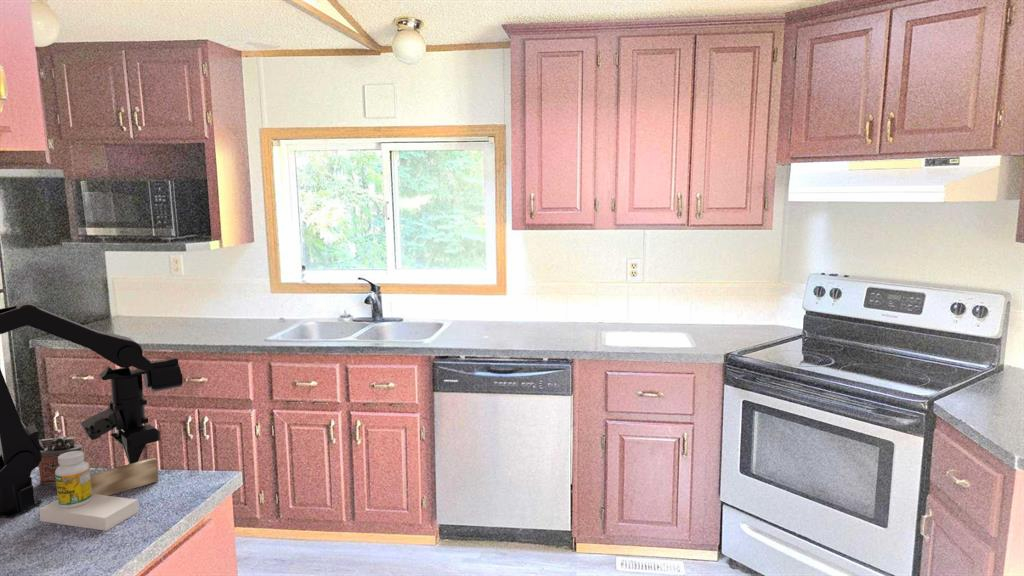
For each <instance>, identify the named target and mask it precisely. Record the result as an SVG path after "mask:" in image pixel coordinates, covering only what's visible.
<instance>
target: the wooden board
mask: <svg viewBox="0 0 1024 576" xmlns="http://www.w3.org/2000/svg"><path fill="white" fill-rule="evenodd" d="M158 471H159V470H158V459H157V458H156V457H152V458H148V459H144V460H140V461H138V462H136V463H132V464H129V463H128V464H125V465H124V464H123V465H121V466H117V467H114V468H110V469H105V470H102V471H99V472H98V471H97V472H94V473H90V477H91V487H92V494H98V495H106V496H112V495H115V494H119V493H122V492H125V491H128V490H133V489H136V488H139V487H143V486H146V485H150V484H154V483H156V482H159V472H158Z"/></svg>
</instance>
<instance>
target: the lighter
mask: <svg viewBox="0 0 1024 576" xmlns="http://www.w3.org/2000/svg"><path fill="white" fill-rule="evenodd" d="M40 440H41V442H42V445H43V447H44V449H45V450H44V451H41V455H42V460H41V462H40V463H39V465H38V469H39V470H38V471H39V487H41V488H42V487H47V488H48V487H57V486H56V477H55V471H56V469H57V468H58V467H59V466H60V465H59V463H58V456H59V455H61V454H64V453H67V452H71V451H82V450H83V445H82V444H75V441H76V438H75V436H69V437H66V436H64V435H59V436H58V437H57V438H53V437H51V438H43V439H40ZM45 447H46V448H45Z"/></svg>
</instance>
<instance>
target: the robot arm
mask: <svg viewBox="0 0 1024 576" xmlns="http://www.w3.org/2000/svg"><path fill="white" fill-rule="evenodd" d="M26 326H27V327H28V326H29V327H31V328H34V329H37V330H40V331H43V332H45V333H48V334H50V335H53V336H55V337H58V338H61V339H63V340H65V341H69V342H71V343H74V344H77V345H79V346H81V347H84V348H87V349H89V350H90V351H93V352H94V353H96V354H97V355H99V356H101V357H102V358H104V359H105V360H107V361H109V362H111V363H113V364H114V365H116V366H117V367H120V368H114V369H113V368H111V367H110V366H106V367H105V368H104V370H103V371H101V372H100V373H99V374H98V377H99V378H100V380H102V381H108V380H109V381H110V388H111V400H110V401H109V402H108V404H107V407H108V409H105V410H104V411H100V412H98V413H96V414H94V415H92V416H90V417H88V418H87V419H85V420H82V421H81V423H80V426H81V427H82V429H83V431H84V432H85V434H86V435H87V437H88V438H89V439H90V440H92V441H95V440H97V439H99V438H101V436H103V435H105V434H107V433H109V432H110V431H112V430H114V433H111V434H110V437H112V438H113V439H115V440H116V441H117V442H118V443H120V444H121V446H122V449H123V451H124V454H125V456H126V459H127V462H128V464H132V463H136V462H139V460H140V457H141V456H142V453H143V450H145V449H144V448H145V446H146V445H147V444H152V443H155V442H159V441H161V431H160V430H159V429H157V428H156V427H154V425H151V424H148V423H149V418H148V417H147V416H146V415H145V414H146V413H145V405H146V406H147V404H148V400H147V399H146V398H145V397H144V388H146V389H149V388H150V391H151V392H152V393H154V392H160V391H165V390H171V389H177V388H182V386H183V381H184V380H183V377H184V376H183V373H182V370H181V367H180V364H179V359H178V358H177V357H175V356H172V357H167V358H166V359H158V360H153V361H151V359H149V358H147V357H146V356H144V355H143V349H142V346H141V345H140V344H139V343H137V342H136V341H135V340H133V339H132V338H131V337H127V336H125V335H119V334H115V333H110V332H106V331H100V330H95V329H92V328H90V327H88V326H86V325H83V324H80V323H78V322H76V321H73V320H71V319H68V318H66V317H63V316H61V315H58V314H56V313H53V312H50V311H48V310H46V309H44V308H40V307H38V306H37V305H36V304H34V303H31V302H21V303H20V304H17V305H13V306H8V307H4V308H0V335H2V334H6V333H8V332H12V331H15V330H17V329H20V328H23V327H26ZM131 367H134V368H137V369H130V368H131ZM143 383H144V385H143ZM143 387H144V388H143ZM41 440H42V439H39V433H38V429H37V428H36V425H35V424H31V425H29V426H27V427H26V425H25V424H24V423H23V421H22V420H21V417H20V415H19V412H18V410H17V408H16V406H15V402H14V400H13V397H12V395H11V392H10V390H9V387H8V385H7V382H6V379H5V377H4V375H3V372H2V370H1V368H0V451H1V454H0V518H7V519H10V518H14V517H15V516H17V515H20V514H22V513H24V512H26V511H28V510H31V509H32V508H34V507H37V506H39V505H40V504H42V503H43V501H42V499H35V491H34V485H33V482H32V481H33V479H32V476H31V474H32V471H34V470H35V469H36V468H37V467H39V463H40V462H41V460H42V455H41V451H44V450H45V446H43V445H42V442H41Z"/></svg>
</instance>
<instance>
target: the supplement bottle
mask: <svg viewBox="0 0 1024 576" xmlns="http://www.w3.org/2000/svg"><path fill="white" fill-rule="evenodd" d="M58 463H59V465H60V466H59V467H58V468H57V469H56V471H55V477H56V486H55V487H56V493H57V500H58V504H59V506H60V507H62V508H73V507H78V506H81V505H84V504H86V503H88V502H89V501H90V500H91V499H92V487H91V477H90V474H91V469H90V468H91V467H90V463H88V462H87V461H85V453H84V451H82V450H81V451H71V452H67V453H64V454H61V455H59V456H58Z"/></svg>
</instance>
